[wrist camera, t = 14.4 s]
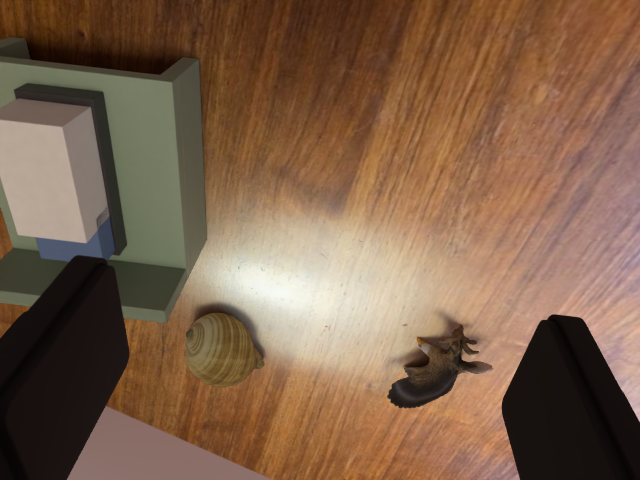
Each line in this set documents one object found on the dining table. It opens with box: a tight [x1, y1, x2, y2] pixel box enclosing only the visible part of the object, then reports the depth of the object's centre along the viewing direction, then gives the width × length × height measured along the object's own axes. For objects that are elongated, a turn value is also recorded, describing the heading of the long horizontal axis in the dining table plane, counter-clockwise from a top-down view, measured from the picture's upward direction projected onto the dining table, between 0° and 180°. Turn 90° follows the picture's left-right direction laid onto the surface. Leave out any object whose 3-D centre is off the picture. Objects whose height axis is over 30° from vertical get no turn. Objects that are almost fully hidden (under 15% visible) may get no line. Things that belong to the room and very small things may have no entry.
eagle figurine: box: [387, 325, 493, 408], centre depth 47 cm, size 8×7×9 cm
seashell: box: [185, 313, 264, 387], centre depth 49 cm, size 10×7×8 cm
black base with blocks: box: [0, 83, 127, 262], centre depth 33 cm, size 12×5×5 cm, turn 175°
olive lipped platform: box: [0, 37, 207, 323], centre depth 36 cm, size 16×14×11 cm
